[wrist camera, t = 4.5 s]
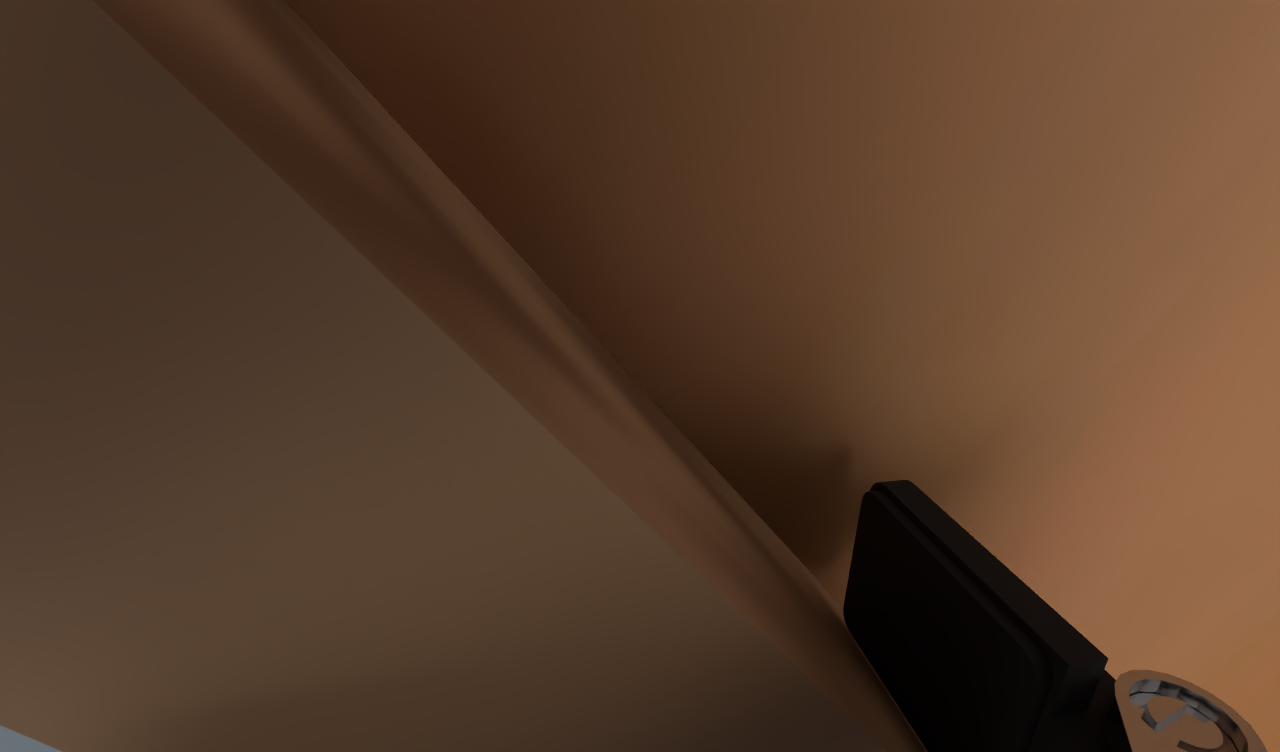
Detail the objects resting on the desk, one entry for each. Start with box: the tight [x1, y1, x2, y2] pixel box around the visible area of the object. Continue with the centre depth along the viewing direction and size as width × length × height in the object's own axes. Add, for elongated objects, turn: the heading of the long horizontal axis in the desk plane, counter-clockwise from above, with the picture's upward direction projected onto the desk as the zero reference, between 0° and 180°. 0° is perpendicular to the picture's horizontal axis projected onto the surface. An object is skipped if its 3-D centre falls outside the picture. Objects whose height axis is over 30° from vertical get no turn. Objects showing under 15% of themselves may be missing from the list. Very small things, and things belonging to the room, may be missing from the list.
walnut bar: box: [0, 0, 928, 752], centre depth 9 cm, size 22×4×6 cm, turn 39°
